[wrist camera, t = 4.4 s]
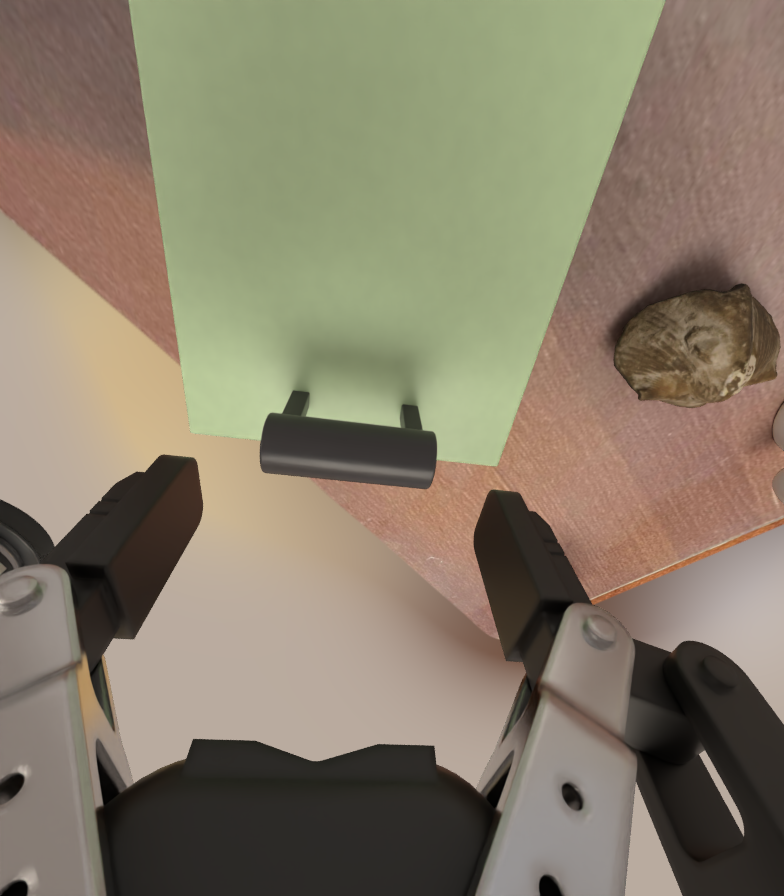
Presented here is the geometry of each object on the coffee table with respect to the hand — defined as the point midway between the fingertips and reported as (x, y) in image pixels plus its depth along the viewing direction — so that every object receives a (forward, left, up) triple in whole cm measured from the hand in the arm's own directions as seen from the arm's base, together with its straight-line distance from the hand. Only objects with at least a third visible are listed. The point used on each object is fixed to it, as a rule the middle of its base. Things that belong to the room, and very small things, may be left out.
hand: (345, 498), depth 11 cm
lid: (0, +7, -7) cm, 10 cm away
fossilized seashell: (+22, +2, -18) cm, 29 cm away
